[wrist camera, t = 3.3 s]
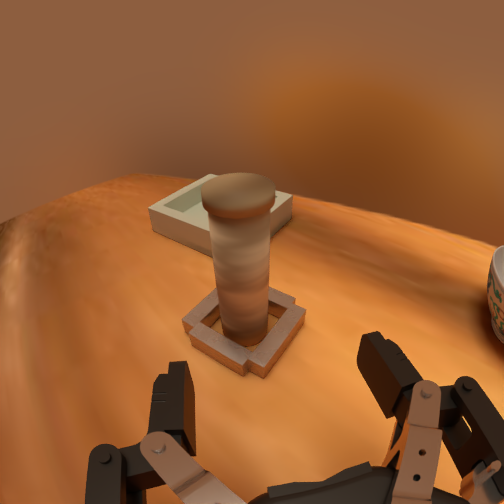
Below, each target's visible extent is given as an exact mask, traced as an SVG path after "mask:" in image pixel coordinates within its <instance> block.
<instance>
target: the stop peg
mask: <svg viewBox="0 0 504 504" xmlns="http://www.w3.org/2000/svg"><path fill="white" fill-rule="evenodd" d="M275 189H276V188H275V184H274V182H273V181H272V180H270V179H269V178H266V177H264V176H261V175H257V174H251V173H231V174H225V175H221V176H217V177H214V178H212V179H210V180H208V181H207V182H205V183H204V184H203V185H202V187H201V198H202V205H203V208H204V209H205V210H206V211H207V212H208V221H209V230H210V239H211V247H212V255H213V263H214V271H215V279H216V286H217V294H218V301H219V308H220V315H221V322H222V329H223V334H224V336H225V337H226V338H228V339H230V340H232V341H233V342H235V343H237V344H239V345H241V346H243V347H247V346H253V345H255V344H257V343H259V342H260V341H262V340H263V339H264V337H265V336H266V333H267V324H268V294H269V260H270V216H271V208H272V207H273V206H274V204H275Z"/></svg>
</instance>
